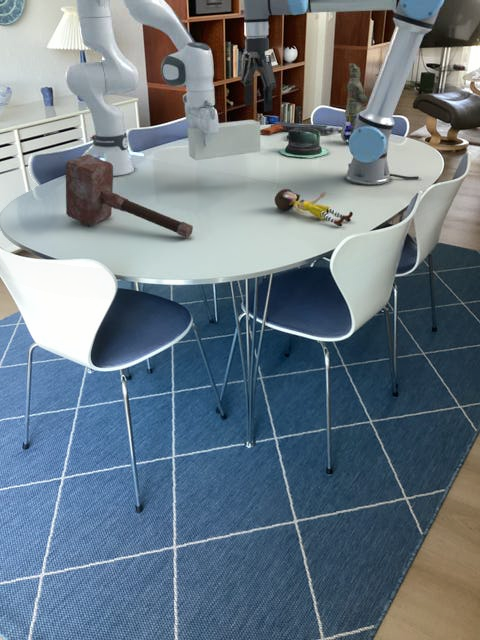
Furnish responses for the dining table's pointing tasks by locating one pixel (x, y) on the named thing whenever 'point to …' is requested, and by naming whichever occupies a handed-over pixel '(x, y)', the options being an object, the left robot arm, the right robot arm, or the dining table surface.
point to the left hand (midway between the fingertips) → (203, 143)
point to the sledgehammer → (105, 196)
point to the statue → (354, 95)
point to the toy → (346, 131)
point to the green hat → (304, 143)
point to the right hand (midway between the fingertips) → (258, 108)
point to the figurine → (308, 206)
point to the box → (225, 140)
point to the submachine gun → (291, 126)
